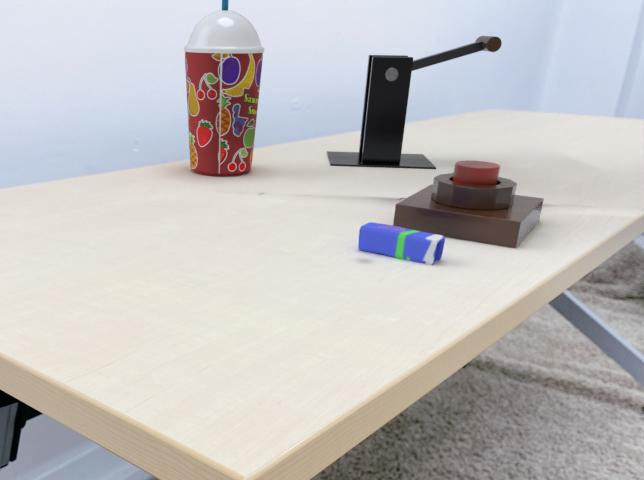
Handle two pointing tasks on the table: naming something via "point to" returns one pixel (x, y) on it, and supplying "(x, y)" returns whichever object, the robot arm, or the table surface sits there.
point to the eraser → (401, 242)
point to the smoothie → (222, 92)
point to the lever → (460, 51)
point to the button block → (471, 211)
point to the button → (476, 173)
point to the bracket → (384, 118)
